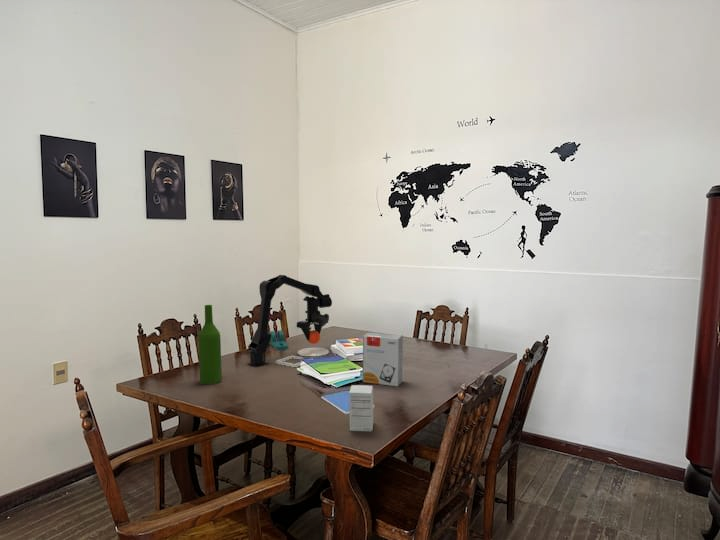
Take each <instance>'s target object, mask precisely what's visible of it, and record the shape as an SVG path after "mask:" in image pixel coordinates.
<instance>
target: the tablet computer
mask: <svg viewBox="0 0 720 540" xmlns="http://www.w3.org/2000/svg"><path fill="white" fill-rule="evenodd" d="M349 392H350V390H343V391H339V392H334V393H331V394H330V393H329V394H326V395H322V396H321V397H320V398H321V399H322V400H324V401H325V402H327V403H328V404H330V405H331V406H333V408H335V409H337V410H339V411H340V412H341V413H343V414H344V415H350V414H349ZM373 409H375V405H374V404H373Z"/></svg>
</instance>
